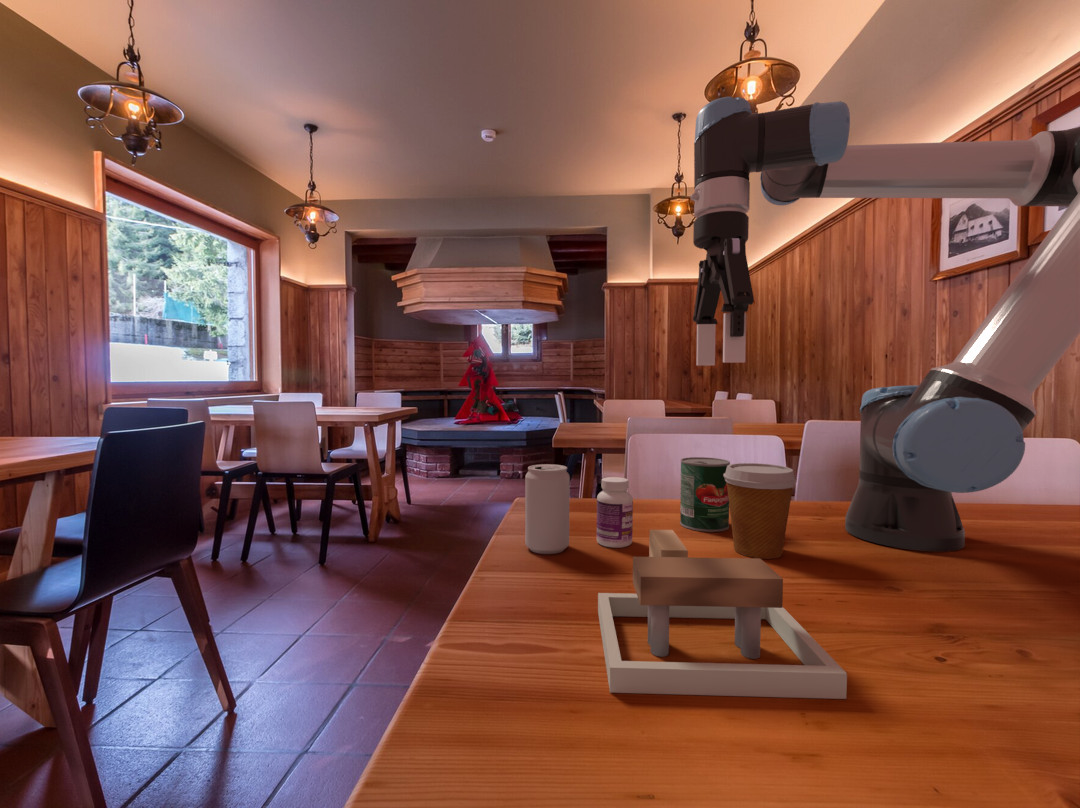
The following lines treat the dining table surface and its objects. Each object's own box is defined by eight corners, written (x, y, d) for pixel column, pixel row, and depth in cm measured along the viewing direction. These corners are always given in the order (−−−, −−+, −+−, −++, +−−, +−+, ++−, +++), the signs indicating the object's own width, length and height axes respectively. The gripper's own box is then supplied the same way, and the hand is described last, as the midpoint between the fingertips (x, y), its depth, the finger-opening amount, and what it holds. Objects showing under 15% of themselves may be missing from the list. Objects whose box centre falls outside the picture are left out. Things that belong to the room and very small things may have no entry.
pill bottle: (630, 550, 73) (630, 483, 73) (593, 546, 75) (593, 481, 74) (634, 539, 78) (634, 476, 78) (600, 536, 80) (600, 475, 79)
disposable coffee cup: (804, 565, 67) (806, 475, 66) (727, 560, 69) (729, 472, 68) (784, 543, 76) (786, 463, 76) (717, 539, 78) (719, 461, 78)
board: (640, 605, 44) (640, 576, 44) (632, 582, 49) (632, 556, 49) (782, 607, 43) (783, 579, 43) (759, 584, 48) (760, 558, 48)
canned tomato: (693, 516, 91) (694, 455, 91) (737, 525, 86) (738, 460, 85) (671, 525, 86) (671, 460, 85) (715, 535, 80) (717, 466, 80)
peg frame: (771, 614, 53) (772, 567, 53) (846, 699, 39) (848, 635, 39) (598, 611, 54) (598, 564, 54) (609, 692, 40) (610, 629, 40)
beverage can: (524, 542, 77) (523, 463, 76) (566, 541, 78) (566, 462, 77) (526, 556, 71) (526, 470, 70) (572, 555, 71) (572, 470, 71)
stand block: (672, 567, 66) (672, 529, 66) (687, 593, 58) (687, 550, 58) (649, 567, 66) (649, 529, 66) (660, 593, 58) (661, 550, 58)
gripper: (675, 240, 86) (674, 366, 87) (720, 184, 61) (718, 360, 62) (720, 240, 86) (718, 366, 87) (784, 183, 61) (780, 360, 62)
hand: (718, 364), depth 75 cm, fingers open, 13 cm apart
